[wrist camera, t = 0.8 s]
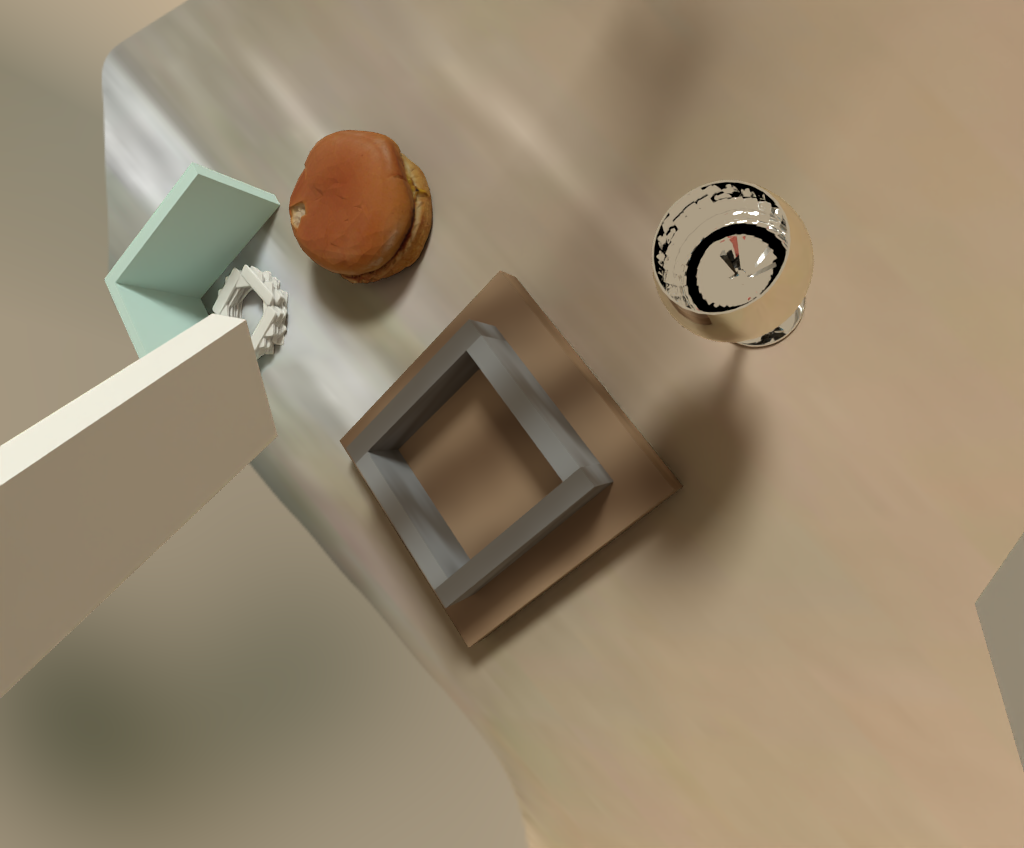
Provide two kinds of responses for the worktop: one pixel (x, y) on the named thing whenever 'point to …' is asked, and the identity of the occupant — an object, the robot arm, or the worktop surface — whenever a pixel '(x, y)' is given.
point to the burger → (361, 206)
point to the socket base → (503, 460)
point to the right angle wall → (197, 263)
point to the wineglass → (733, 263)
